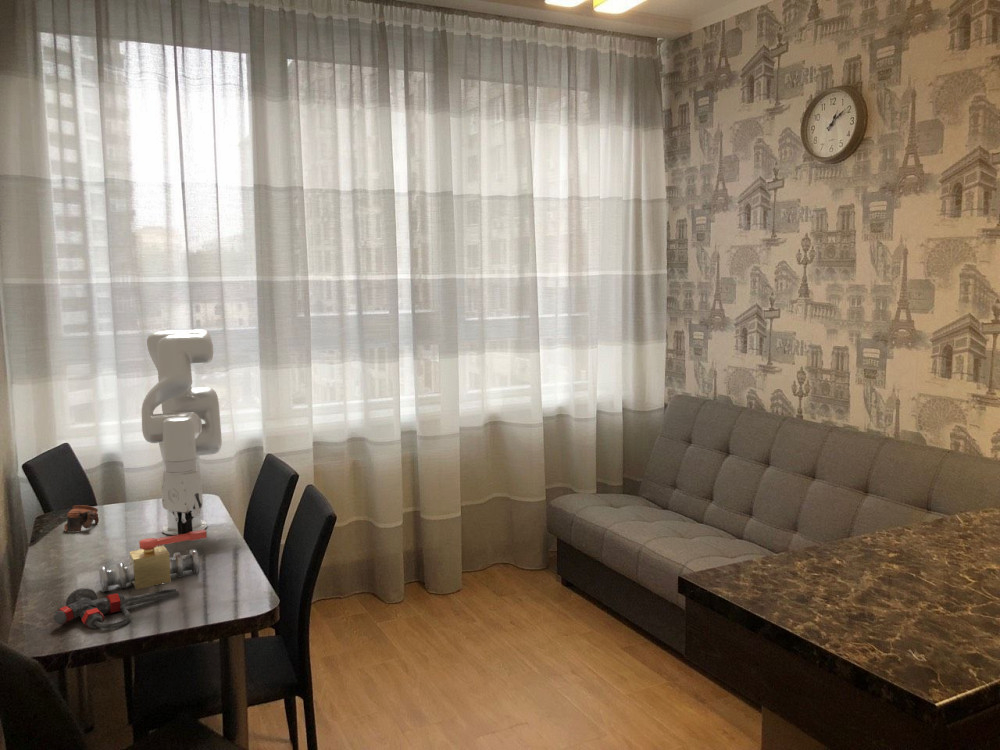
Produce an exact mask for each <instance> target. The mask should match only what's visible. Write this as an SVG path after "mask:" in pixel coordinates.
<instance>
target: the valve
mask: <svg viewBox="0 0 1000 750" xmlns="http://www.w3.org/2000/svg"><path fill="white" fill-rule="evenodd" d="M179 594H180V592H179V590H177V588H176V587H172V588H168V589H167V588H166V589H163V590H157V591H153V592H148V593H143V594H140V595H135V596H129V597H125V595H124V594H119V593H118V592H117V593H111V594H108V595H107V596H105V597H102V598H98V595H97V593H96V592H95V591H94V590H93V589H92V588H90V587H81V588H78V589H75V590H73V591H72V592H71V593H70V594H69V595H68V596H67V598H66V601H65V606H63V607H60V608H58V610H57V611H56V612H54V615H53V619H54V622H55V623H56V624H58V625H62V626H64V625H66V624H67V623H69V622H71V621H72V620H74V619H75V618H77V617H80V619H81V621H82V624H84V625H85V626H86V628H88V629H93V630H95V629H98V628H100V629H114V628H120V627H123V626H125V625H127V624H128V623H129V622H130V621H131V620H132V619H131V618H132V615H131V612H129V610H128V609H127V607H131V606H135V605H139V604H143V603H148V602H152V601H158V600H162V599H166V598H172V597H175V596H179ZM120 611H121V612H122V614H123V615H124V616H125V618H124V619H123V620H121V621H117V622H113V623H104V620H105V619H106V618H105V616H104V614H109V615H110V614H115V613H119V612H120Z"/></svg>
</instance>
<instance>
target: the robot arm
mask: <svg viewBox="0 0 1000 750" xmlns="http://www.w3.org/2000/svg"><path fill="white" fill-rule="evenodd" d="M146 347H147V351H148V354H149V356H150V358H151V360H152V362H153V364H154V366H155V368H156V371H157V377H158V378H157V379H158V382H157V383H156V384H154V386H153V387H152V388H151V389H150V390H149V391H148V392H147V394H146V395H145V397H144V399H143V402H142V406H141V432H142V435H143V438H144V440H145V441H146V442H148V443H149V444H158V447H159V450H160V454H161V459H162V467H163V473H162V479H161V481H162V482H161V504H162V507H163V509H164V510H166V519H167V523H166V524H165V525H163V526H162V528H161V529H162V533H163V534H165V535H169V536H174V535H180V534H186V533H188V532H192V531H198V530H203V529H204V530H206V528H207V527H208V522H207V521H206V520H204V519H202V510H201V509H202V508H203V507H202V506H203V492H202V484H201V479H200V474H199V470H198V465H197V464H198V463H197V456H198V457H199V456H209V455H211V456H212V455H215V454H217V453H219V452H220V451H221V449H222V445H223V444H222V428H221V427H222V426H221V415H220V414H221V411H220V404H219V403H220V402H219V396H218V394H217V391H216V390H215V389H213V388H212V387H205V386H204V387H192V384H193V377H192V376H193V375H192V365H201V364H203V365H204V364H209V363H211V362H212V360H213V358H214V345H213V341H212V337H211V335H210V333H209V331H207V330H205V329H188V330H187V329H185V330H183V329H182V330H163V331H161V330H160V331H156V332H153V333H151V334H149V335H148V336H147V339H146ZM160 405H161V412H162V413H155V414H154V411H155V409H157V407H159V406H160ZM203 421H204V423H203Z"/></svg>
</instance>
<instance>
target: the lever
mask: <svg viewBox="0 0 1000 750" xmlns="http://www.w3.org/2000/svg"><path fill="white" fill-rule="evenodd" d="M207 537H208V536H207V531H206V529H203V530H198V531H192V532H188V533H186V534H180V535H169V536H164V537H158V538H155V537H149V538H144V539H141V540H139V543H138V544H139V550H142V549H151V548H154V547H158V546H164V545H168V544H173V543H181V542H184V541H190V542H192V541H196V540H203V539H207Z"/></svg>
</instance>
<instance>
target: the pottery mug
mask: <svg viewBox="0 0 1000 750" xmlns="http://www.w3.org/2000/svg"><path fill="white" fill-rule="evenodd" d="M98 509H99V508H96V507H94V506H90V505H84V504H83V505H82V504H81V505H80V504H77V505H72V506H71V508H70V510H69V511H68V512H67V513H66V515H65V516H67V519H66V523H65V524H64V527H63V528H64V529H63V530H64V531H65V530H66V531H65V532H72V531H81V532H82V527H83V528H85V529H90V528H91V527H92V523H93V522H94V524H95V523H98V524H99V520H100V517H99V513H98Z"/></svg>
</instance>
